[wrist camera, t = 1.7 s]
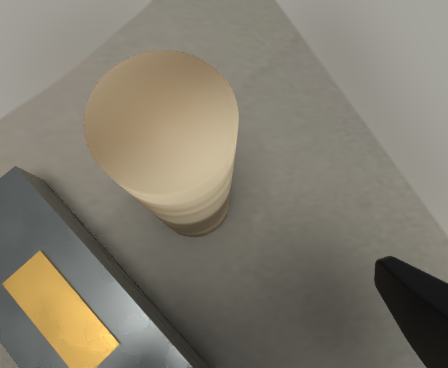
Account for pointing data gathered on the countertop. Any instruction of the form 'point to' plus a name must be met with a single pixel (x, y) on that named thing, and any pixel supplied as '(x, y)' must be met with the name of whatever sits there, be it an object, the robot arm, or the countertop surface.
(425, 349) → the robot arm
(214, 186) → the barrel peg
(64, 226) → the grey peg hole board
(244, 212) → the countertop surface
